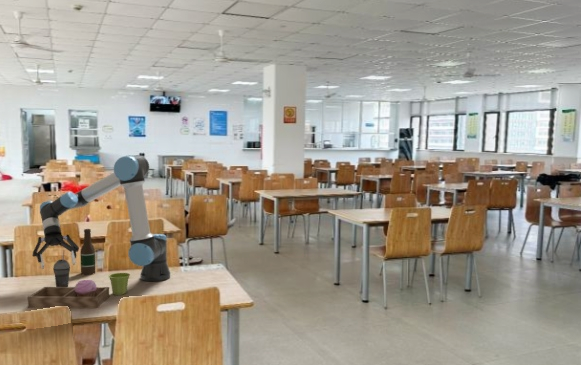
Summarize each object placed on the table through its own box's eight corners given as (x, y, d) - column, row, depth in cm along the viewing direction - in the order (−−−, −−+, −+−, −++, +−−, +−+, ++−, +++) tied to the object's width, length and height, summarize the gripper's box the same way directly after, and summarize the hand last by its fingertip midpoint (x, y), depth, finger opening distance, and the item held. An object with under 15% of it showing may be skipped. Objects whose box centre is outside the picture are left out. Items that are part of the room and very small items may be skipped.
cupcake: (70, 303, 214) (70, 281, 213) (85, 298, 222) (85, 276, 221) (86, 306, 210) (86, 283, 210) (101, 300, 219) (100, 278, 218)
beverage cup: (57, 290, 233) (56, 248, 231) (73, 289, 234) (72, 248, 232) (51, 294, 226) (50, 252, 224) (67, 294, 226) (66, 252, 225)
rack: (109, 296, 224) (109, 287, 223) (97, 307, 209) (96, 297, 208) (45, 296, 223) (44, 286, 223) (28, 307, 208) (27, 297, 208)
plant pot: (108, 291, 232) (108, 273, 231) (129, 289, 235) (129, 271, 235) (109, 297, 223) (108, 278, 223) (130, 295, 227) (130, 276, 226)
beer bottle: (98, 273, 264) (97, 229, 262) (84, 276, 258) (83, 231, 256) (92, 270, 269) (91, 227, 267) (77, 273, 263) (76, 229, 261)
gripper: (77, 231, 250) (85, 266, 240) (22, 236, 236) (28, 273, 225) (80, 222, 246) (88, 257, 235) (24, 226, 231) (29, 264, 220)
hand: (59, 265), depth 230 cm, fingers open, 13 cm apart
